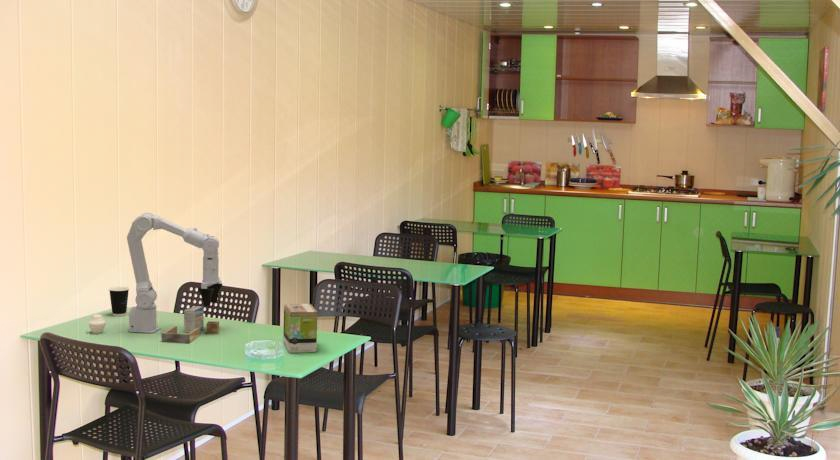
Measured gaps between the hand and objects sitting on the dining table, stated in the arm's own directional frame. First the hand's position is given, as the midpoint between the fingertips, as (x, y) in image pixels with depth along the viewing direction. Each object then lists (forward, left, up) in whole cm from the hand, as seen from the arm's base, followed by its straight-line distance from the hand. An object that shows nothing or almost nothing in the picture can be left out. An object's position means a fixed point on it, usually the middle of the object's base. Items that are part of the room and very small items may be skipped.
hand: (210, 304), depth 343 cm
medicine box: (-6, -1, -10) cm, 12 cm away
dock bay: (-6, -14, -10) cm, 19 cm away
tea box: (+39, -18, -10) cm, 44 cm away
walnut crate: (+2, -3, -10) cm, 11 cm away
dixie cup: (-44, +18, -10) cm, 48 cm away
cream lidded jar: (-39, -12, -10) cm, 42 cm away
